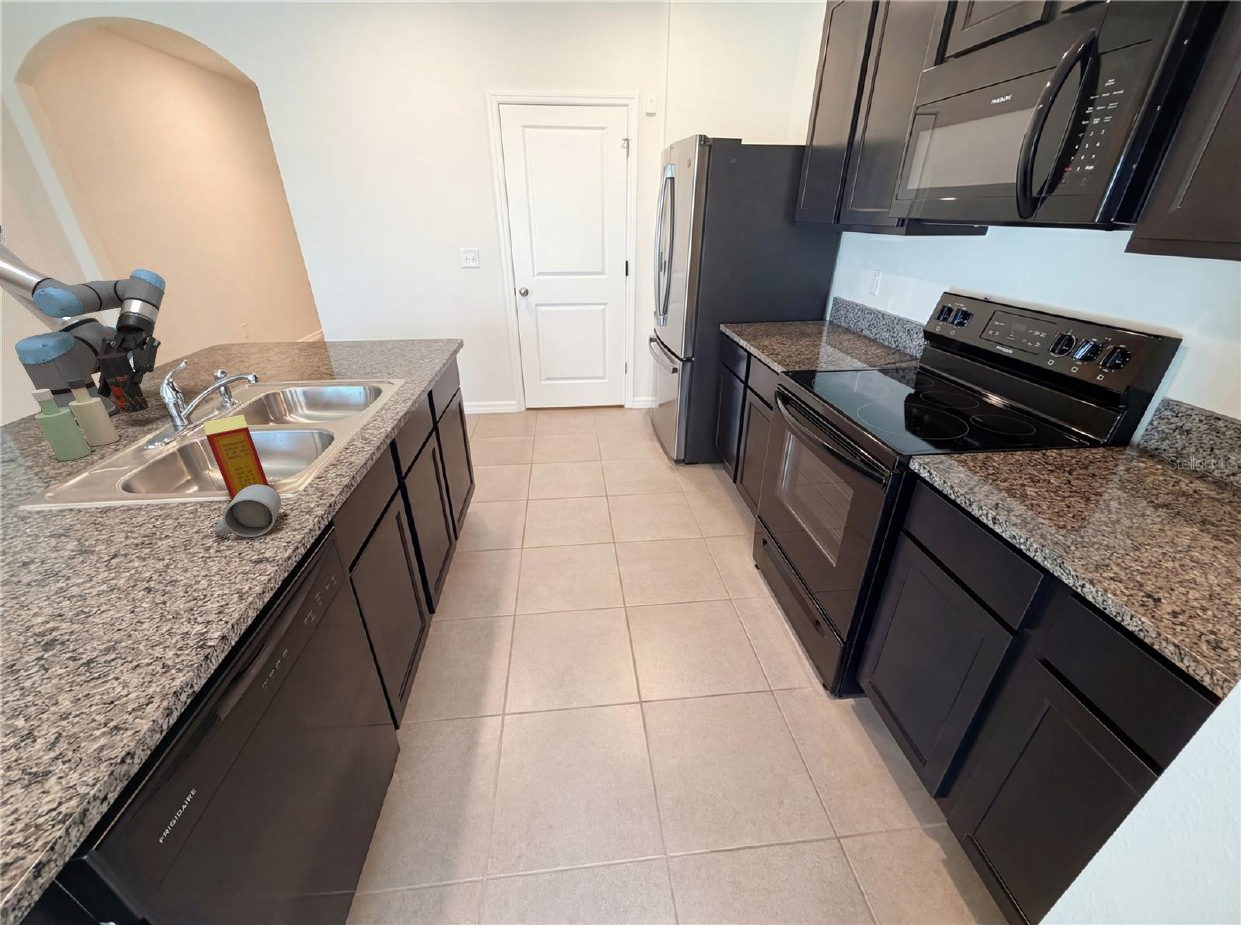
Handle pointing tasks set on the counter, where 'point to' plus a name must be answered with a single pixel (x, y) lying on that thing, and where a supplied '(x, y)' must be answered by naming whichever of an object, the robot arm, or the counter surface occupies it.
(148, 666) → the counter surface
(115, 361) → the deodorant
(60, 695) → the counter surface
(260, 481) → the baking soda box
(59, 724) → the counter surface
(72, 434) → the bottle
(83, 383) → the bottle
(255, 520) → the ceramic mug
